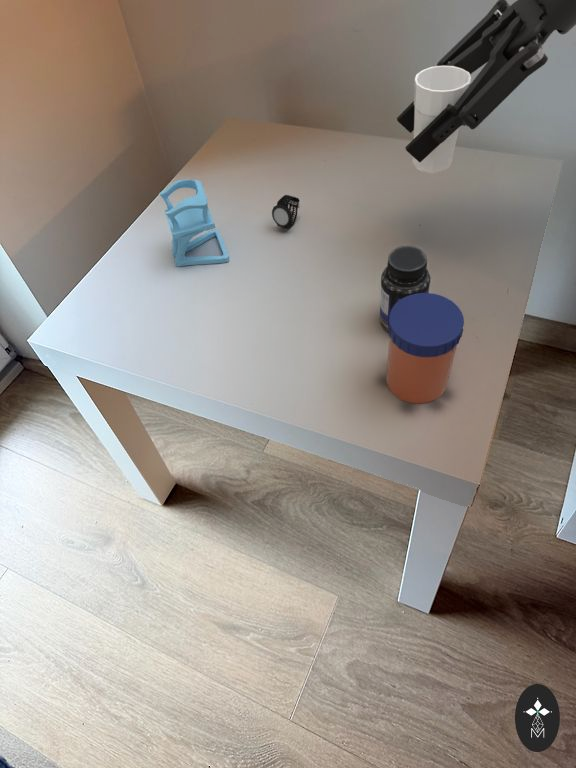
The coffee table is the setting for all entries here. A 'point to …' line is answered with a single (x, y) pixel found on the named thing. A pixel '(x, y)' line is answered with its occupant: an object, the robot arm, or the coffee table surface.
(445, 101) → the cup
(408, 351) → the jar lid
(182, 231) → the chair
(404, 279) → the pill bottle
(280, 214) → the smartwatch
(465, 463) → the coffee table surface
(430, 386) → the jar
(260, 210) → the coffee table surface
